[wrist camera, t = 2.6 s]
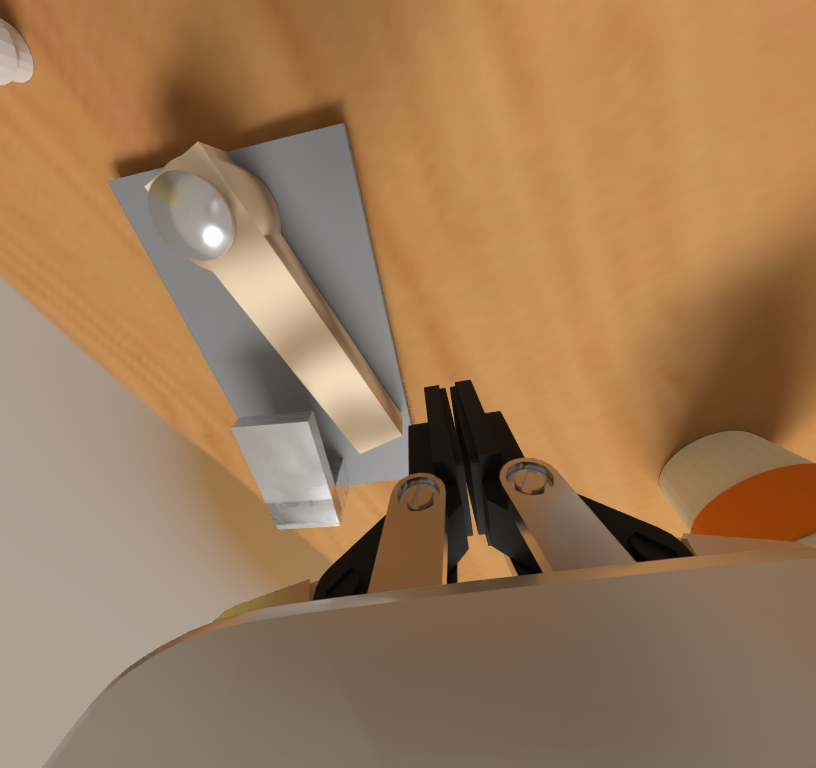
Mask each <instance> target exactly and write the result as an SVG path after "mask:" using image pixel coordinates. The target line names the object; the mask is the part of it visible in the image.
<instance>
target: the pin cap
mask: <svg viewBox="0 0 816 768" xmlns="http://www.w3.org/2000/svg"><path fill="white" fill-rule="evenodd" d="M148 209H149V214H150V217H151V220H152V222H153V224H154V227H155V228H156V230H157V232H158V233H159V235H160V236H161V237H162V239H163V240H164V241H165V242H166V243H167V244H168V245H169V246H170V247H171V248H173V249H174V250H175V251H177V252H178V253H180V254H181V255H183V256H185V257H188V258H190V259H194V260H200V261H206V260H212V259H217V258H220V257H222V256H224V255H225V254H227V253H228V252H229V251H230V250H231V248H232V247H233V245H234V242H235V239H236V234H237V225H236V219H235V215H234V212H233V209H232V207H231V205H230V203H229V202H228V200H227V198H226V197H225V195H224V194H223V193H222V192H221V191H220V189H219V188H218V187H216V186H215V185H214V184H213V183H212V182H210V181H209V180H208V179H206V178H204V177H202V176H200V175H198V174H195V173H191V172H186V171H181V170H172V171H167V172H164V173H162V174H160V175H159V176H158V177H157V178H156V179H155V180H154V181H153V182H152V184H151V186H150V189H149V193H148Z"/></svg>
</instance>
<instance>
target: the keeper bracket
mask: <svg viewBox="0 0 816 768" xmlns="http://www.w3.org/2000/svg"><path fill="white" fill-rule="evenodd" d="M231 429H232V431H233V433H234V436H235V438H236V440H237V442H238V444H239V446H240V449H241V451H242V453H243V455H244V457H245V459H246V461H247V464H248V466H249V468H250V470H251V472H252V474H253V477H254V479H255V481H256V483H257V485H258V487H259V489H260V492H261V494H262V496H263V498H264V500H265V502H266V505H267V507H268V509H269V511H270V513H271V515H272V517H273V519H274V522H275V524H276V526H277V528H278V529H294V528H311V527H327V526H340V525H341V520H342V516H343V511H344V507H345V502H346V498H347V493H348V489H349V485H350V481H349V478H348V474H347V470H346V466H345V462H344V458H334V459H327V456H326V453H325V449H324V446H323V443H322V439H321V436H320V433H319V429H318V426H317V422H316V419H315V416H314V412H313V411H307V412H294V413H282V414H270V415H257V416H245V417H240V418H239V419H238V420H237V421H236V422H235V423H234V425H233V426H232V427H231Z"/></svg>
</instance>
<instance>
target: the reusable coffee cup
mask: <svg viewBox="0 0 816 768" xmlns="http://www.w3.org/2000/svg"><path fill="white" fill-rule="evenodd" d="M659 486H660V489H661V491H662V493H663V494H664V495H665V497H666V498H667V500H668V501H669V502H670V504H671V505H672V507H673V508H674V509H675V511H676V512H677V514H678V515H679V516H680V518H681V519H682V521H683V522H684V523H685V525H686V526H687V528H688V529H689V530H690V532H691V534H698V535H712V536H725V537H739V538H752V539H766V540H779V541H790V542H796V543H801V544H806V545H809V546H811V547H814V548H816V464H815V463H813V462H811V461H809V460H807V459H805V458H803V457H801V456H799V455H797V454H795V453H793V452H790V451H788V450H786V449H784V448H782V447H780V446H778V445H776V444H774V443H772V442H770V441H768V440H765V439H763V438H761V437H759V436H757V435H755V434H752V433H750V432H745V431H725V432H719V433H715V434H711V435H708V436H705V437H703V438H700V439H698V440H696V441H694V442H692V443H690V444H689V445H687V446H685V447H684V448H682V449H681V450H680V451H678V452H677V453H676V454H675V455H674V456H673V457H672V458H671V459H670V460H669V461H668V462H667V463H666V465H665V466H664V468H663V470H662V472H661V474H660V478H659Z"/></svg>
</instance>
